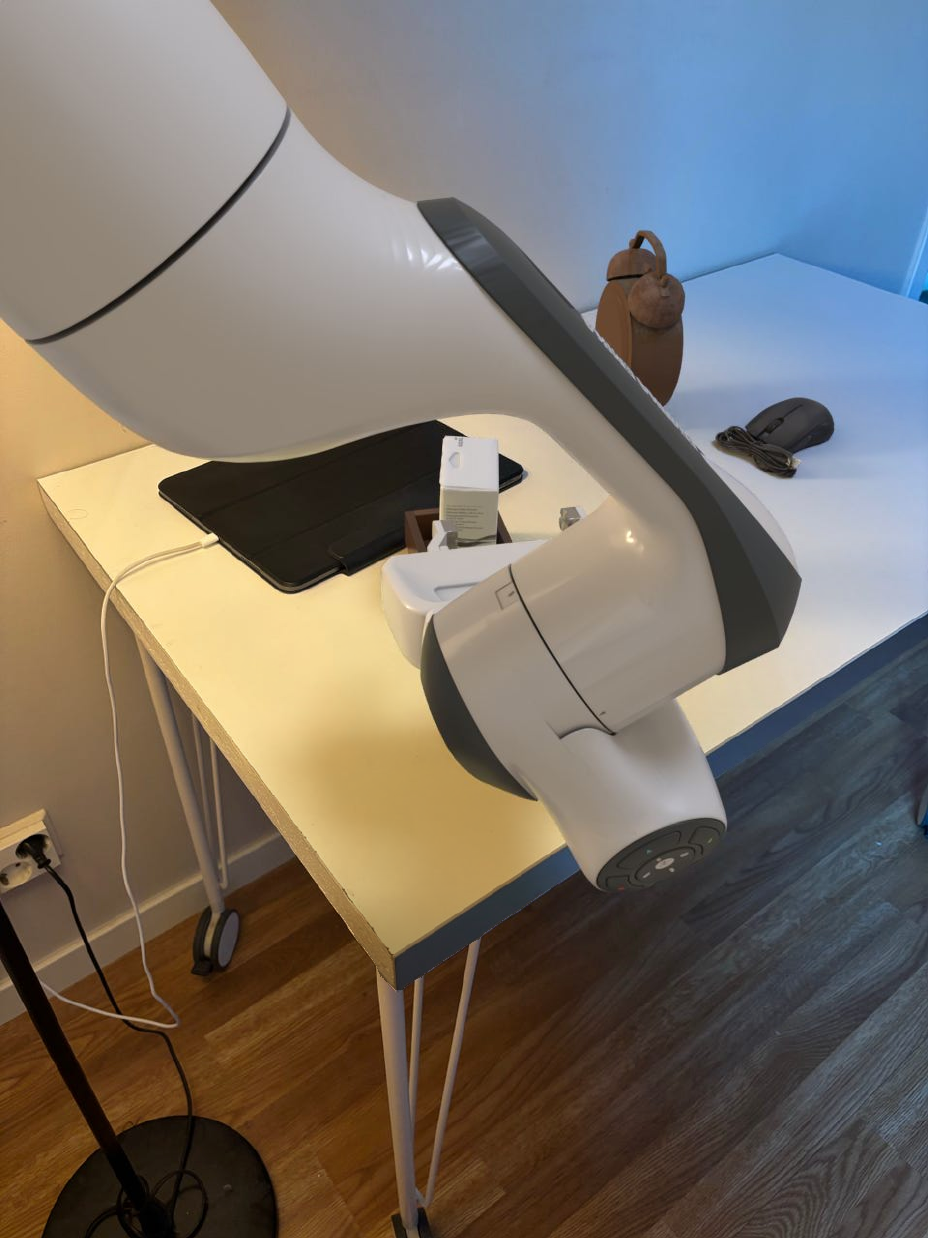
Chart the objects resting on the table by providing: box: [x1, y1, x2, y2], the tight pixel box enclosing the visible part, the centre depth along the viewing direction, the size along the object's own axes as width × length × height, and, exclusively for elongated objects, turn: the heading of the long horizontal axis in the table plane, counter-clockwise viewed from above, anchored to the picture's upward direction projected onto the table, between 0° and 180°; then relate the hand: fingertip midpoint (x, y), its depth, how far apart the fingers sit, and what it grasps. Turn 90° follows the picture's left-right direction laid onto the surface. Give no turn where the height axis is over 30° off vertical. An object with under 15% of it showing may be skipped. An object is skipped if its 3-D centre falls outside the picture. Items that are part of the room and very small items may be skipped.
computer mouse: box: [715, 396, 835, 477], centre depth 106 cm, size 10×15×4 cm
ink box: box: [439, 435, 500, 549], centre depth 82 cm, size 8×5×12 cm, turn 179°
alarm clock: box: [594, 229, 686, 408], centre depth 105 cm, size 14×7×20 cm, turn 9°
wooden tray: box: [404, 507, 514, 554], centre depth 85 cm, size 9×13×4 cm
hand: (506, 520), depth 68 cm, fingers open, 8 cm apart
